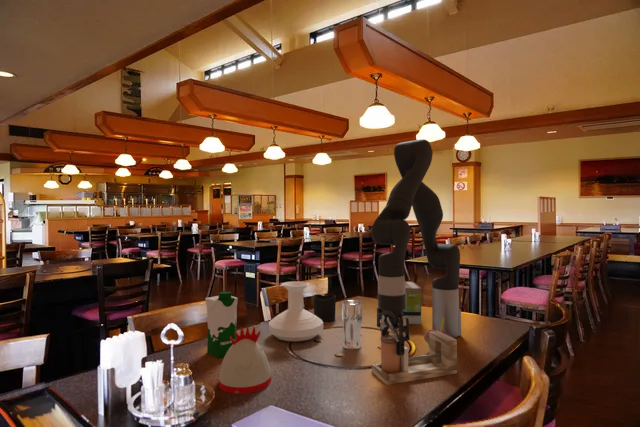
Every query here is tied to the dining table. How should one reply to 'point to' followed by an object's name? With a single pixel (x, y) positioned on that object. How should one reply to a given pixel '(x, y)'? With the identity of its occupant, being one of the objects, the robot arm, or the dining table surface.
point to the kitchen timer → (245, 365)
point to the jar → (389, 355)
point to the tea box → (412, 303)
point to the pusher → (405, 359)
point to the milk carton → (221, 323)
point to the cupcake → (426, 336)
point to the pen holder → (325, 307)
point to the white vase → (295, 317)
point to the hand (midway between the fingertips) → (392, 349)
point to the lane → (426, 362)
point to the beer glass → (351, 323)
